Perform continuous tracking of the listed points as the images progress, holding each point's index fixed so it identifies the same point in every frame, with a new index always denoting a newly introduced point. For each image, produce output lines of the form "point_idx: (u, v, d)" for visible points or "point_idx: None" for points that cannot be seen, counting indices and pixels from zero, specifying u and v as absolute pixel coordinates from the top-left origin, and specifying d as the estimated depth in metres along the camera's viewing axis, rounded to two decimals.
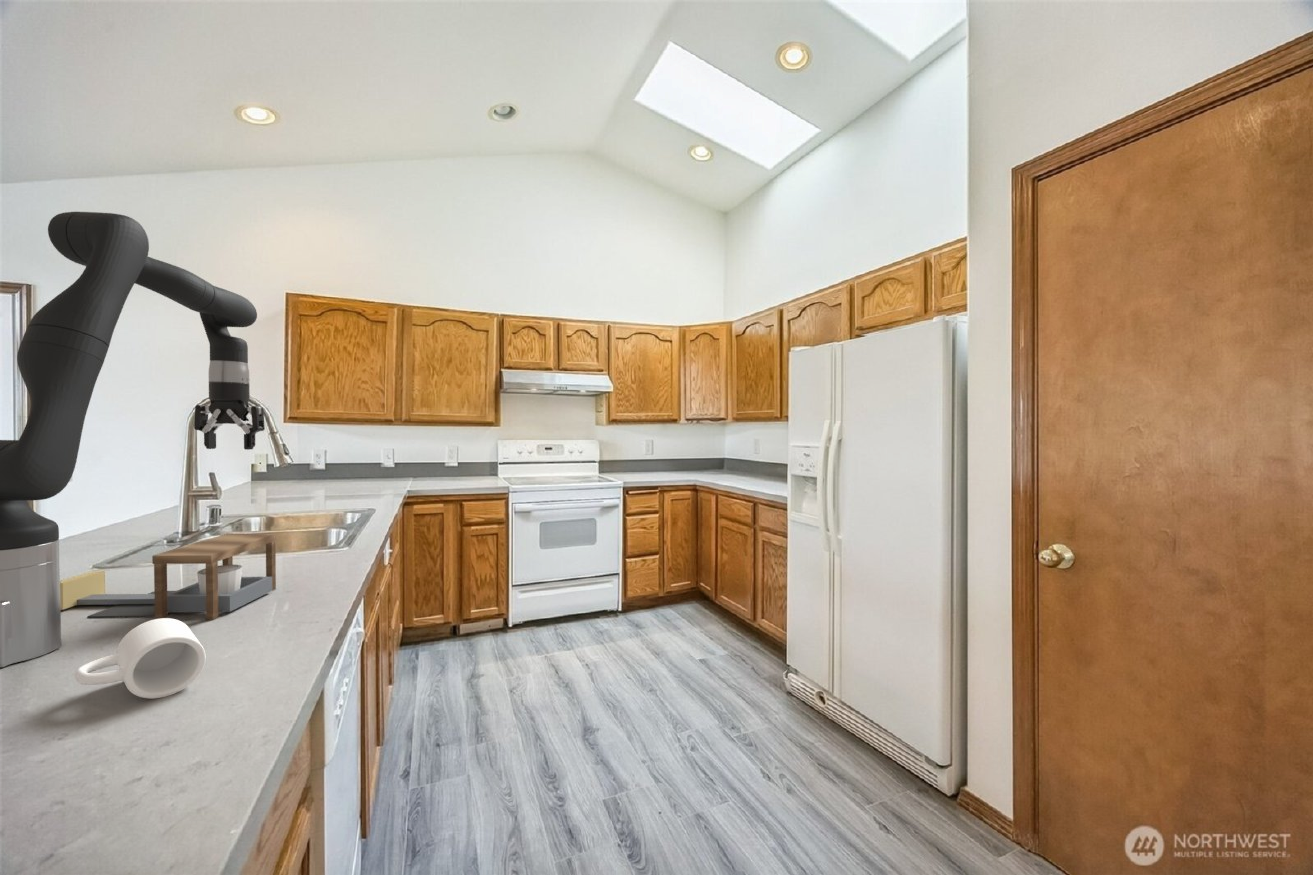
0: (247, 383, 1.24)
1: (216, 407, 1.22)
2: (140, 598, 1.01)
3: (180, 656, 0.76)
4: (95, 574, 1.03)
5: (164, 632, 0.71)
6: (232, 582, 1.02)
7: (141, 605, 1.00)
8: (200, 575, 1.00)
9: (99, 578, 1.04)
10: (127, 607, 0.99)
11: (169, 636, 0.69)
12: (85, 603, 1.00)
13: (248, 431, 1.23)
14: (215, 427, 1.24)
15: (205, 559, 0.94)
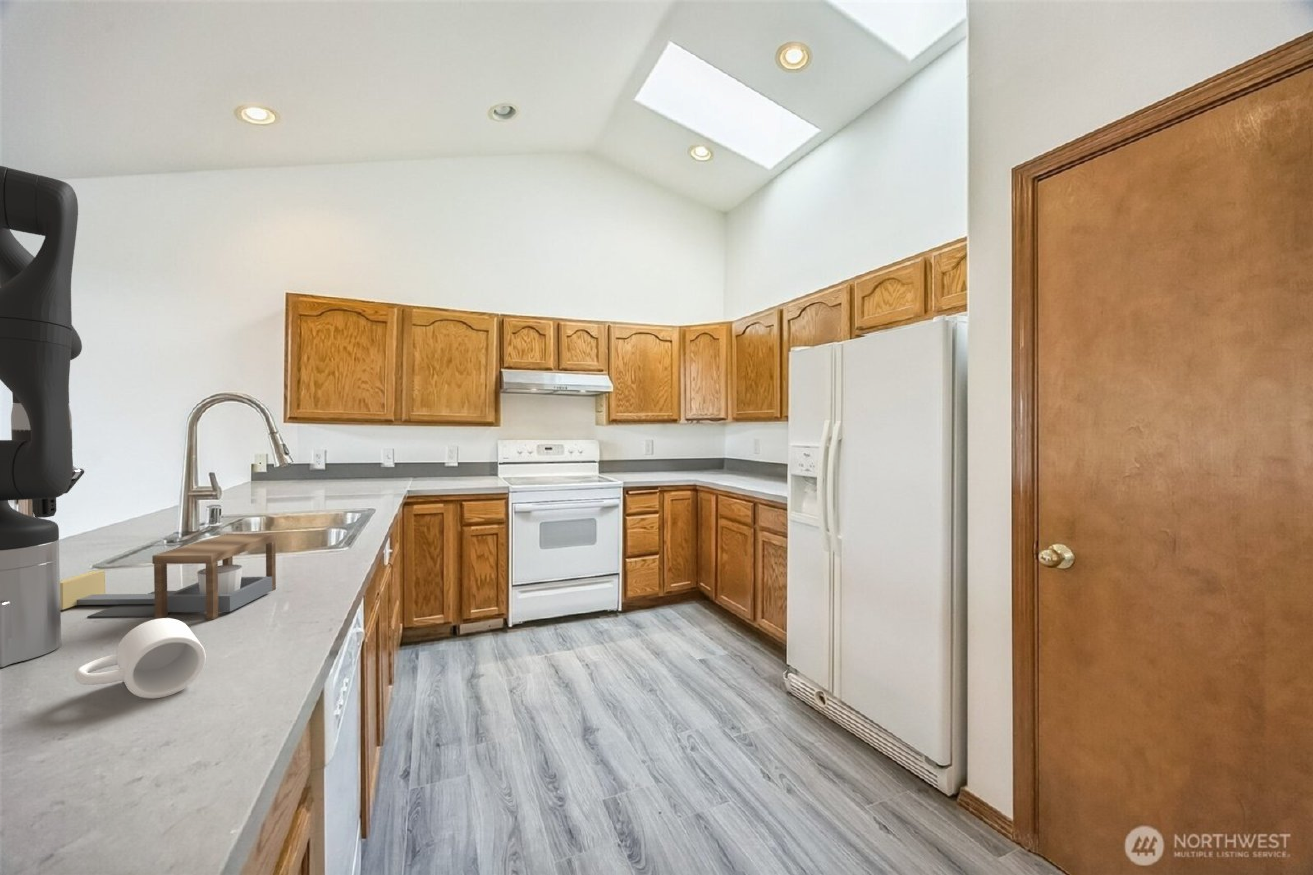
0: None
1: None
2: (140, 598, 1.01)
3: (180, 656, 0.76)
4: (95, 574, 1.03)
5: (164, 632, 0.71)
6: (232, 582, 1.02)
7: (141, 605, 1.00)
8: (200, 575, 1.00)
9: (99, 578, 1.04)
10: (127, 607, 0.99)
11: (169, 636, 0.69)
12: (85, 603, 1.00)
13: None
14: None
15: (205, 559, 0.94)
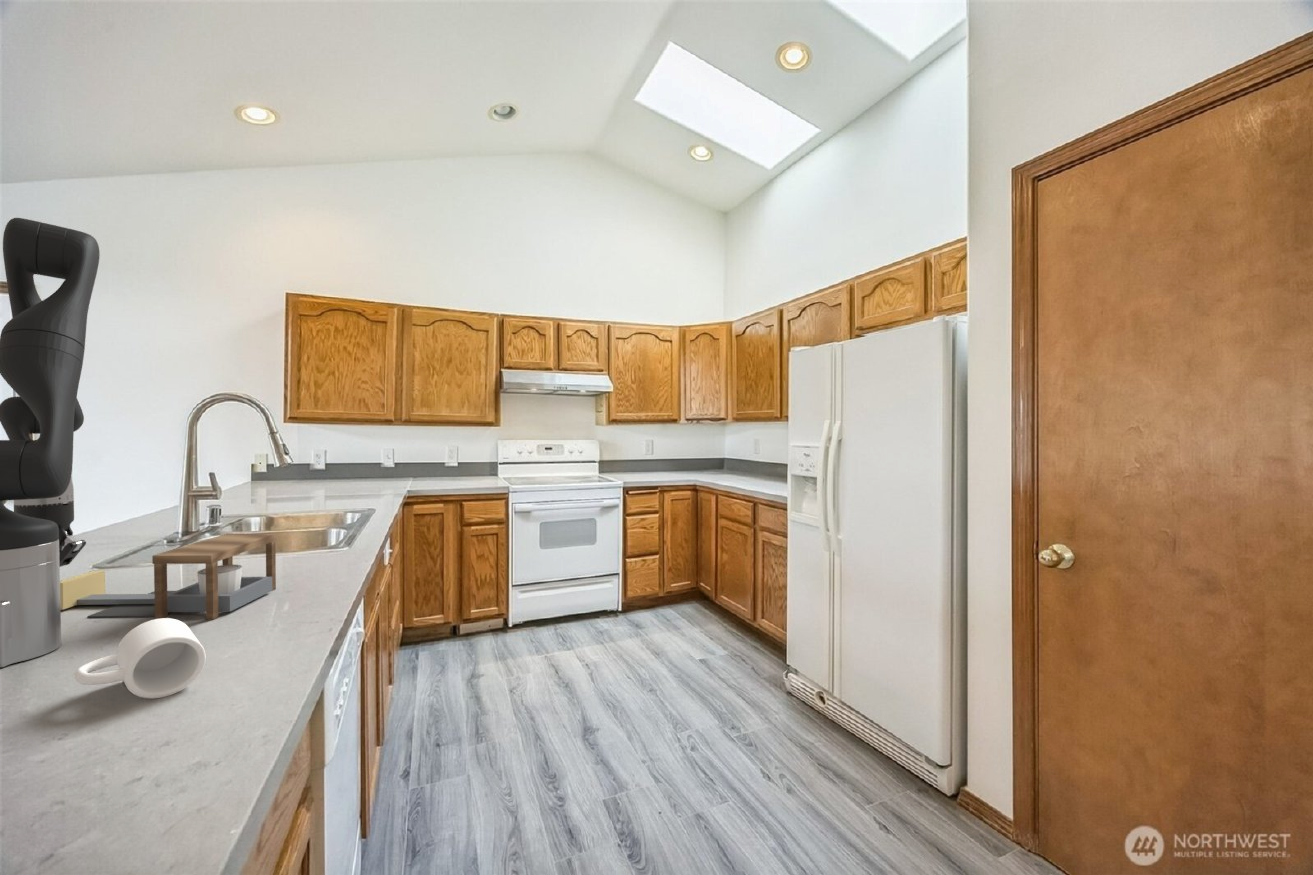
0: (68, 502, 1.01)
1: None
2: (140, 598, 1.01)
3: (180, 656, 0.76)
4: (95, 574, 1.03)
5: (164, 632, 0.71)
6: (232, 582, 1.02)
7: (141, 605, 1.00)
8: (200, 575, 1.00)
9: (99, 578, 1.04)
10: (127, 607, 0.99)
11: (169, 636, 0.69)
12: (85, 603, 1.00)
13: None
14: None
15: (205, 559, 0.94)
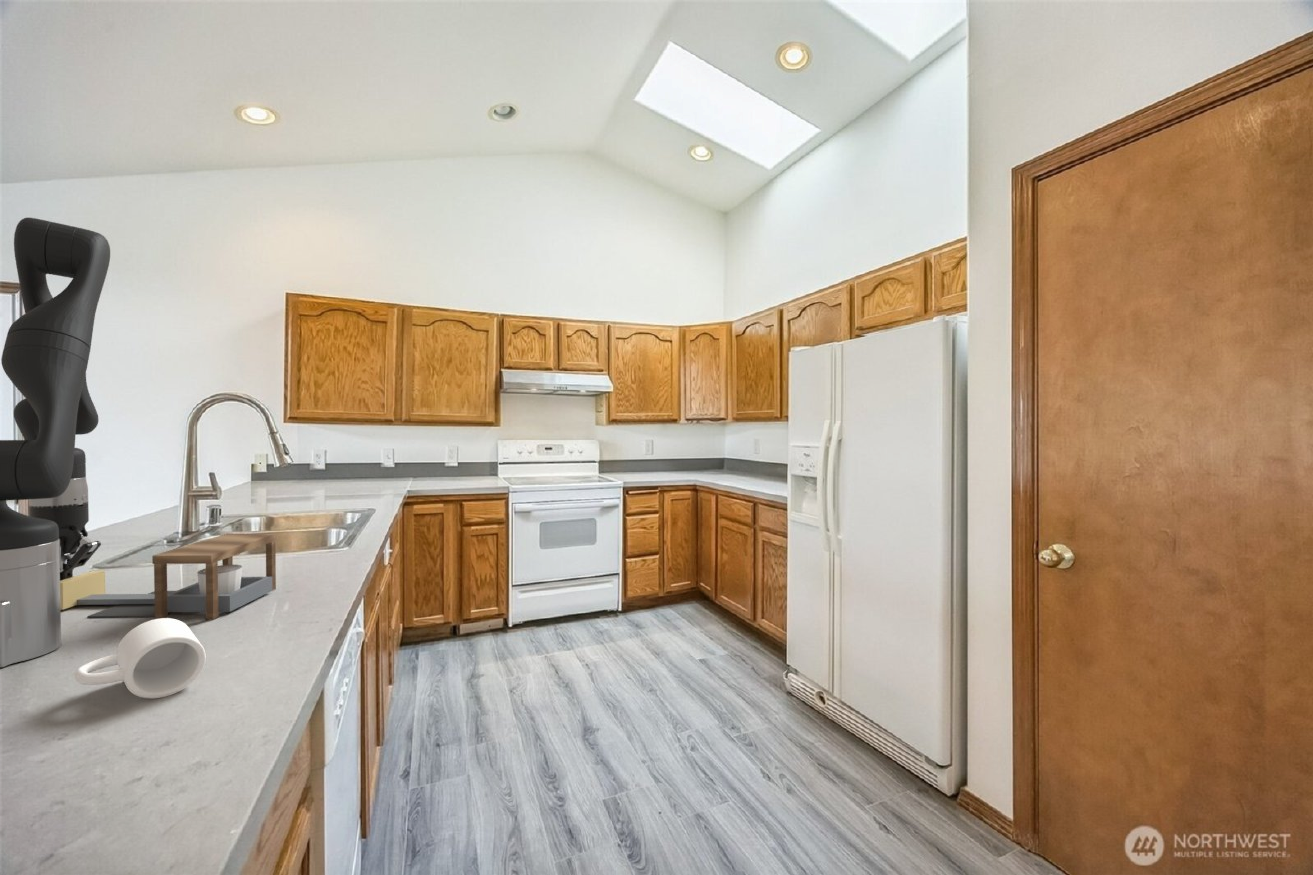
0: (83, 503, 1.01)
1: None
2: (140, 598, 1.01)
3: (180, 656, 0.76)
4: (95, 574, 1.03)
5: (164, 632, 0.71)
6: (232, 582, 1.02)
7: (141, 605, 1.00)
8: (200, 575, 1.00)
9: (99, 578, 1.04)
10: (127, 607, 0.99)
11: (169, 636, 0.69)
12: (85, 603, 1.00)
13: (60, 569, 0.99)
14: None
15: (205, 559, 0.94)
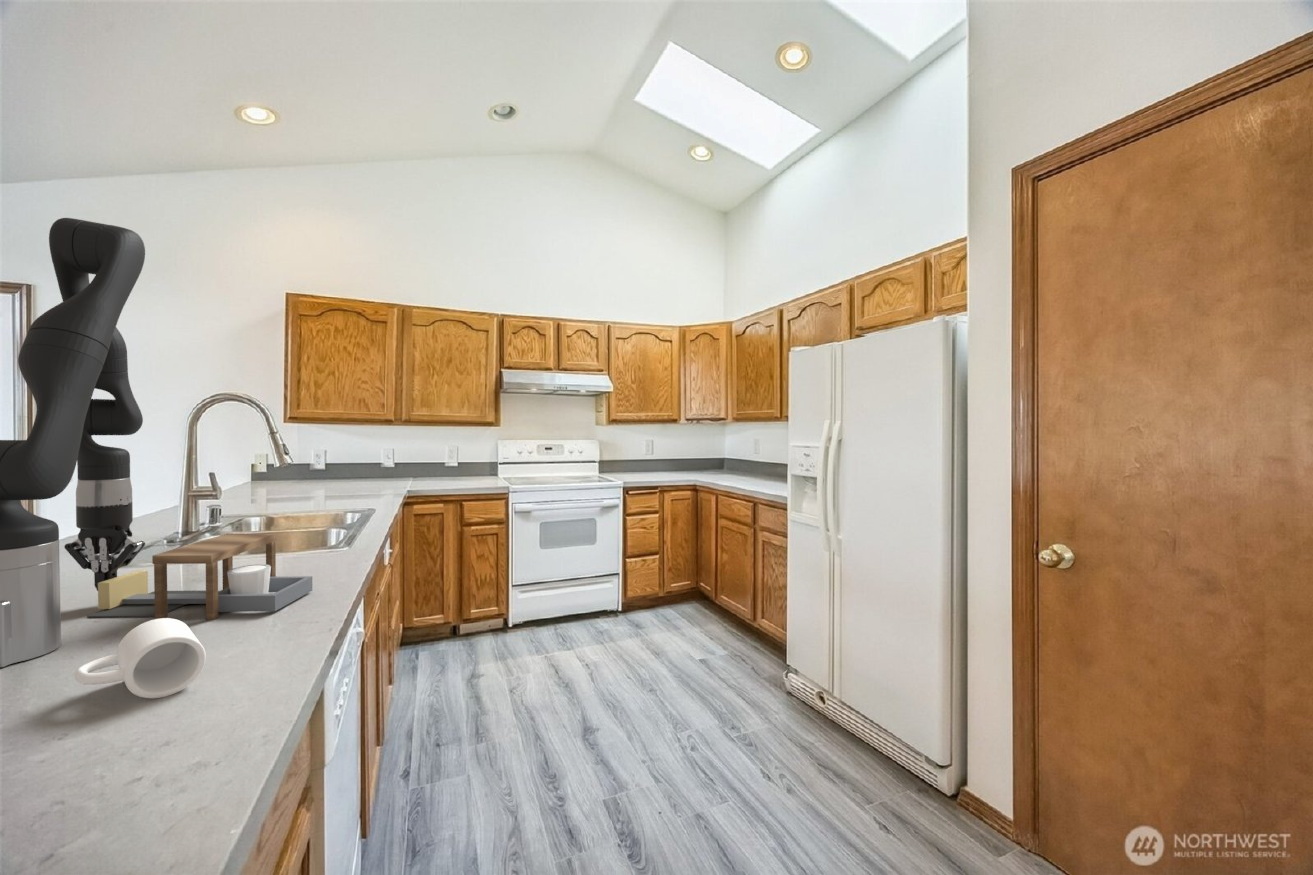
0: (128, 503, 1.02)
1: (87, 535, 0.99)
2: (184, 598, 1.01)
3: (180, 656, 0.76)
4: (139, 574, 1.04)
5: (165, 632, 0.71)
6: (261, 582, 1.02)
7: (141, 605, 1.00)
8: (230, 575, 1.00)
9: (142, 578, 1.04)
10: (127, 607, 0.99)
11: (169, 636, 0.69)
12: (130, 603, 1.00)
13: (106, 569, 1.00)
14: None
15: (205, 559, 0.94)
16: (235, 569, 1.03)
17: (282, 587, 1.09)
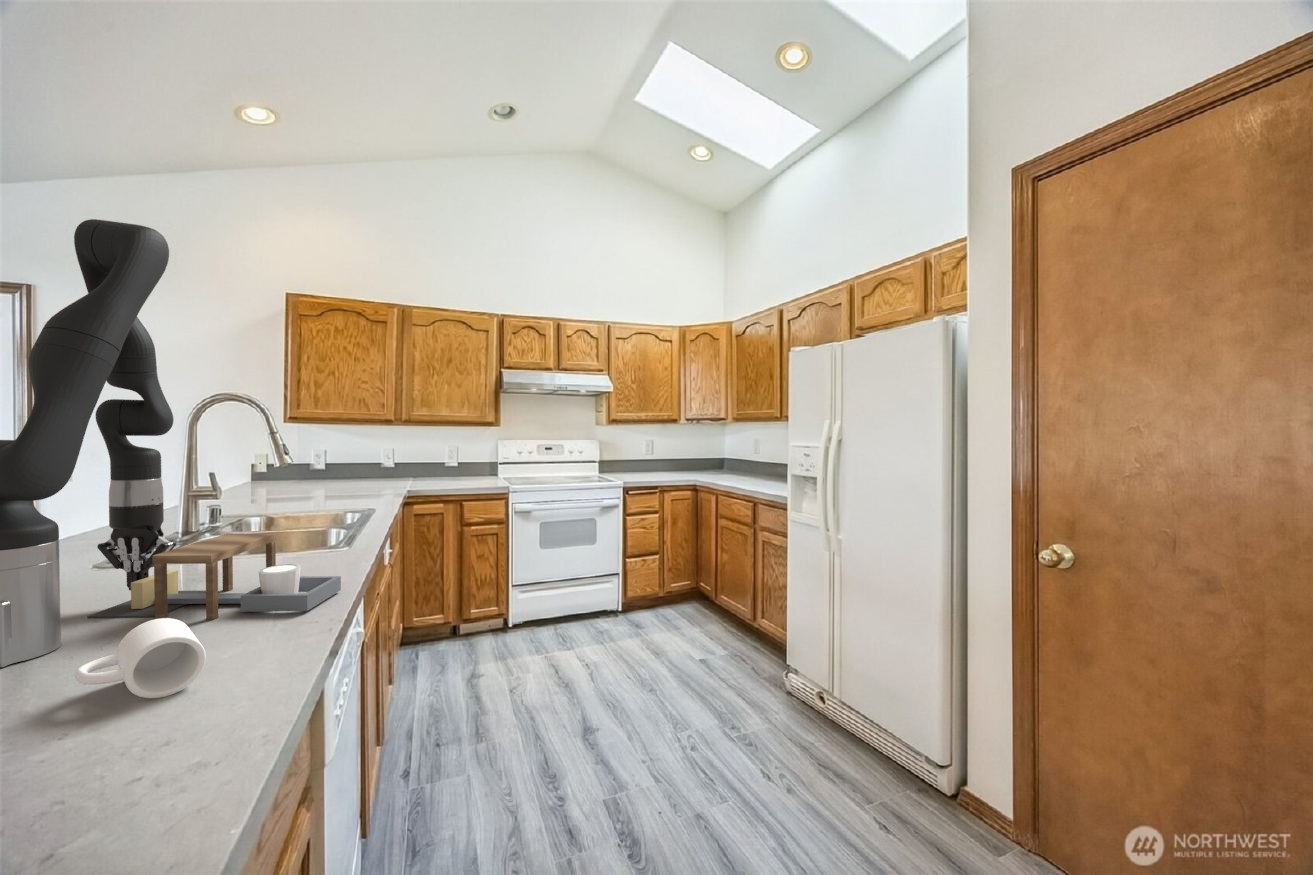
0: (159, 503, 1.02)
1: (120, 535, 1.00)
2: None
3: (180, 656, 0.76)
4: (169, 574, 1.04)
5: (165, 632, 0.71)
6: (292, 582, 1.03)
7: None
8: (262, 574, 1.00)
9: (173, 578, 1.05)
10: (127, 607, 0.99)
11: (169, 636, 0.69)
12: None
13: (138, 569, 1.00)
14: None
15: (205, 559, 0.94)
16: (266, 569, 1.03)
17: (311, 587, 1.09)
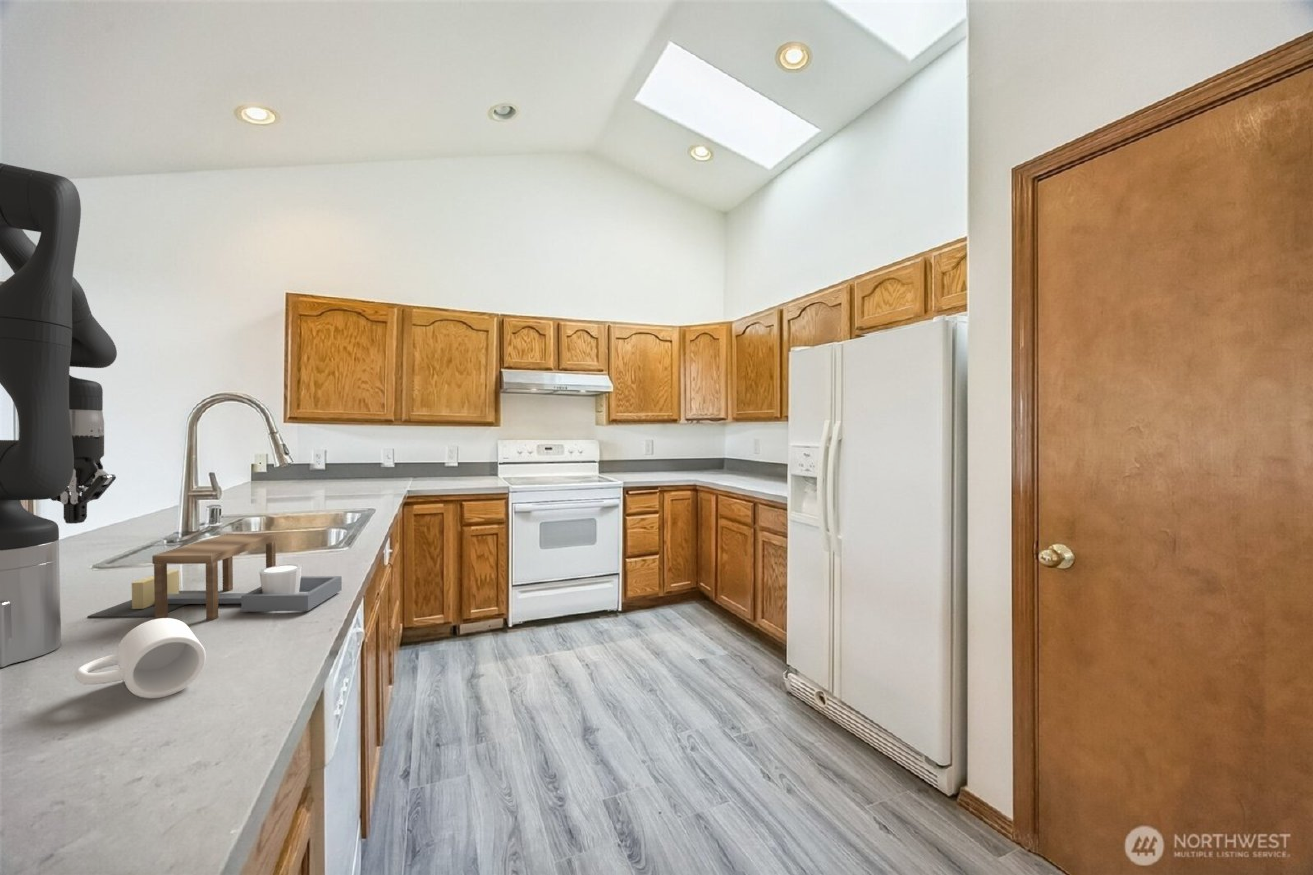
0: (99, 435, 1.01)
1: None
2: None
3: (180, 656, 0.76)
4: (170, 574, 1.04)
5: (165, 632, 0.71)
6: (293, 582, 1.03)
7: None
8: (263, 575, 1.01)
9: (174, 578, 1.05)
10: (127, 607, 0.99)
11: (169, 636, 0.69)
12: None
13: (75, 501, 0.99)
14: None
15: (205, 559, 0.94)
16: (267, 569, 1.03)
17: (312, 587, 1.09)
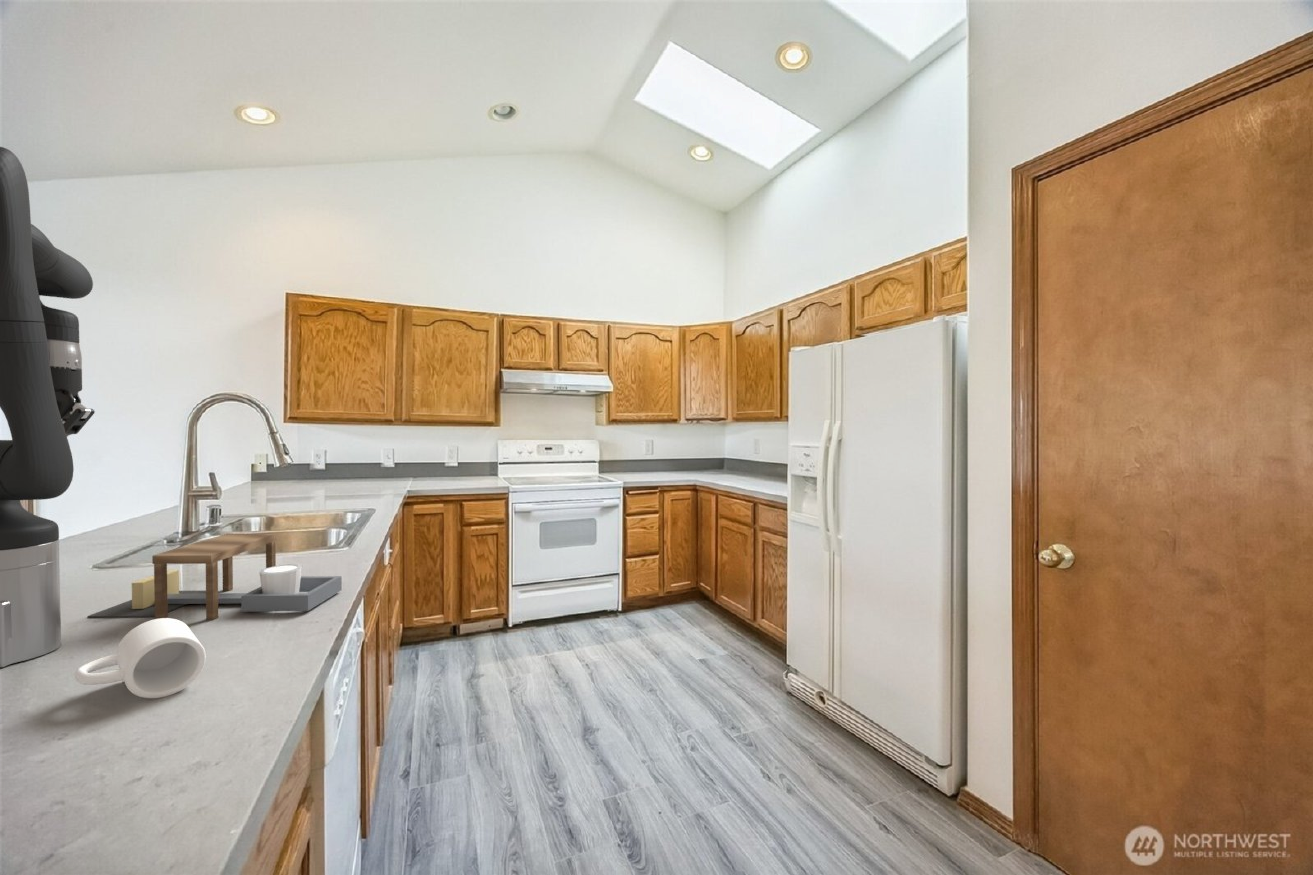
0: (76, 368, 0.98)
1: None
2: None
3: (180, 656, 0.76)
4: (170, 574, 1.04)
5: (164, 632, 0.71)
6: (293, 582, 1.03)
7: None
8: (263, 575, 1.01)
9: (174, 578, 1.05)
10: (127, 607, 0.99)
11: (169, 636, 0.69)
12: None
13: None
14: None
15: (205, 559, 0.94)
16: (267, 569, 1.03)
17: (312, 587, 1.09)
